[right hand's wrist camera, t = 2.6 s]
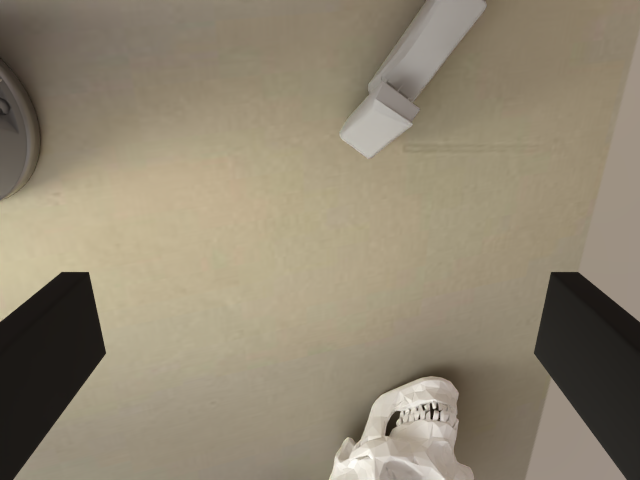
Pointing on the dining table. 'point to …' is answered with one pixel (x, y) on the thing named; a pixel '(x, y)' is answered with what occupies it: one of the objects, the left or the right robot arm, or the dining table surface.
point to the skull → (406, 437)
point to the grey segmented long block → (408, 73)
